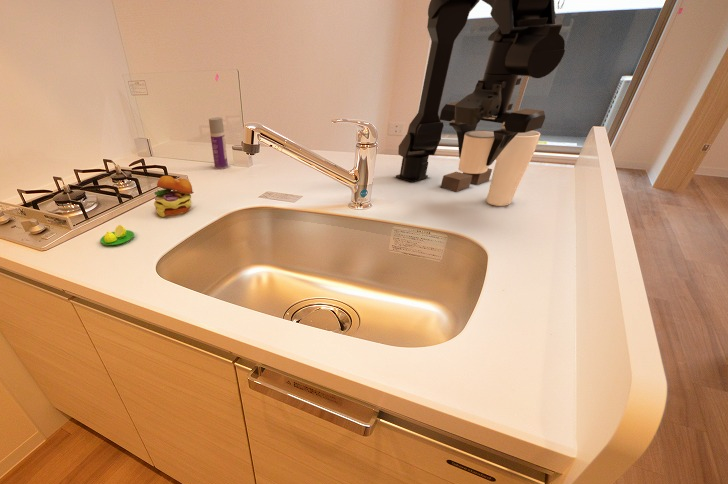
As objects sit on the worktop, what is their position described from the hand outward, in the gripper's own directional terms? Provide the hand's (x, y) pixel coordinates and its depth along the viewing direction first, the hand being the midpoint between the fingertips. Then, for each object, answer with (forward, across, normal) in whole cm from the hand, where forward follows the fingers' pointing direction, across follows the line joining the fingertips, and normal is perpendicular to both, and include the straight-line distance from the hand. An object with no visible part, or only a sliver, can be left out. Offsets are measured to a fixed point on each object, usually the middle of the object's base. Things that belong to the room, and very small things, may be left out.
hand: (474, 162), depth 78 cm
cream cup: (+2, 0, 0) cm, 2 cm away
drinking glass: (+11, +2, +11) cm, 16 cm away
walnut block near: (+11, -12, +13) cm, 21 cm away
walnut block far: (+11, -12, +21) cm, 27 cm away
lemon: (+11, -39, -72) cm, 82 cm away
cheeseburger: (+12, -48, -54) cm, 73 cm away
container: (+12, -77, -26) cm, 82 cm away
